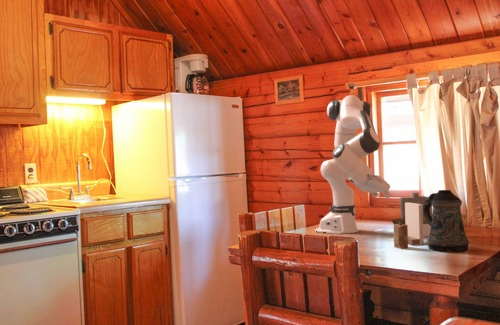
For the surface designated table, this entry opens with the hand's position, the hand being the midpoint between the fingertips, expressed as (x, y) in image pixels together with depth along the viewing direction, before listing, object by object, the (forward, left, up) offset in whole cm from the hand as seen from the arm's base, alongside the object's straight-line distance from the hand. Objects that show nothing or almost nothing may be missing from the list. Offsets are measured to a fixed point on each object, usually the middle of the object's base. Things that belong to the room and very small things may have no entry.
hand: (382, 196), depth 218 cm
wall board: (+8, +17, -23) cm, 30 cm away
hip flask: (+5, +54, -23) cm, 59 cm away
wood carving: (+13, +40, -23) cm, 48 cm away
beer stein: (+24, +8, -23) cm, 34 cm away
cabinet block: (+6, +5, -23) cm, 24 cm away
